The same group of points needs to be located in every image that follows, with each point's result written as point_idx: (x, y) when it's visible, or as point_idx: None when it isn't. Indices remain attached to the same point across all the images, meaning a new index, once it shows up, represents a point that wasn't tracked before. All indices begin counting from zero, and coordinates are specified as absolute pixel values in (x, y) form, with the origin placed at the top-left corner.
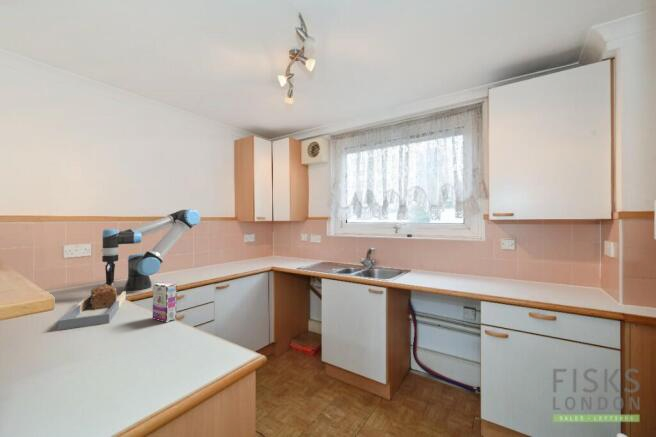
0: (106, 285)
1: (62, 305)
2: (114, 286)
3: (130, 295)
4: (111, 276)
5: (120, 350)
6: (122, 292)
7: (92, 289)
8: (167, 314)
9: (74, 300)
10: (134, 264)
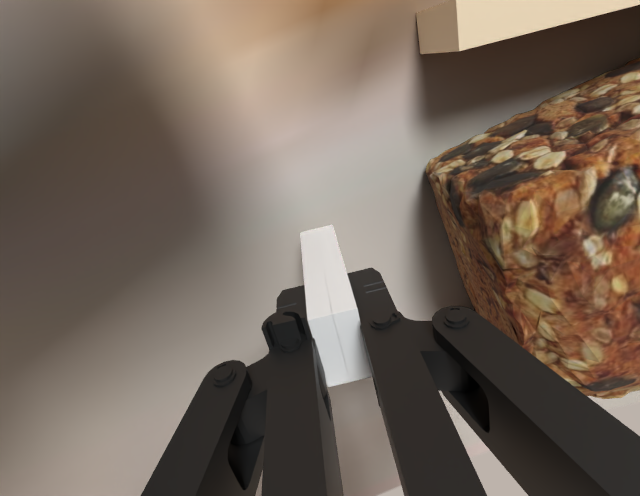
0: (623, 298)
1: (475, 450)
2: (592, 174)
3: (275, 3)
4: (552, 422)
5: None
6: (539, 23)
7: (623, 394)
8: None
9: (343, 456)
10: None
